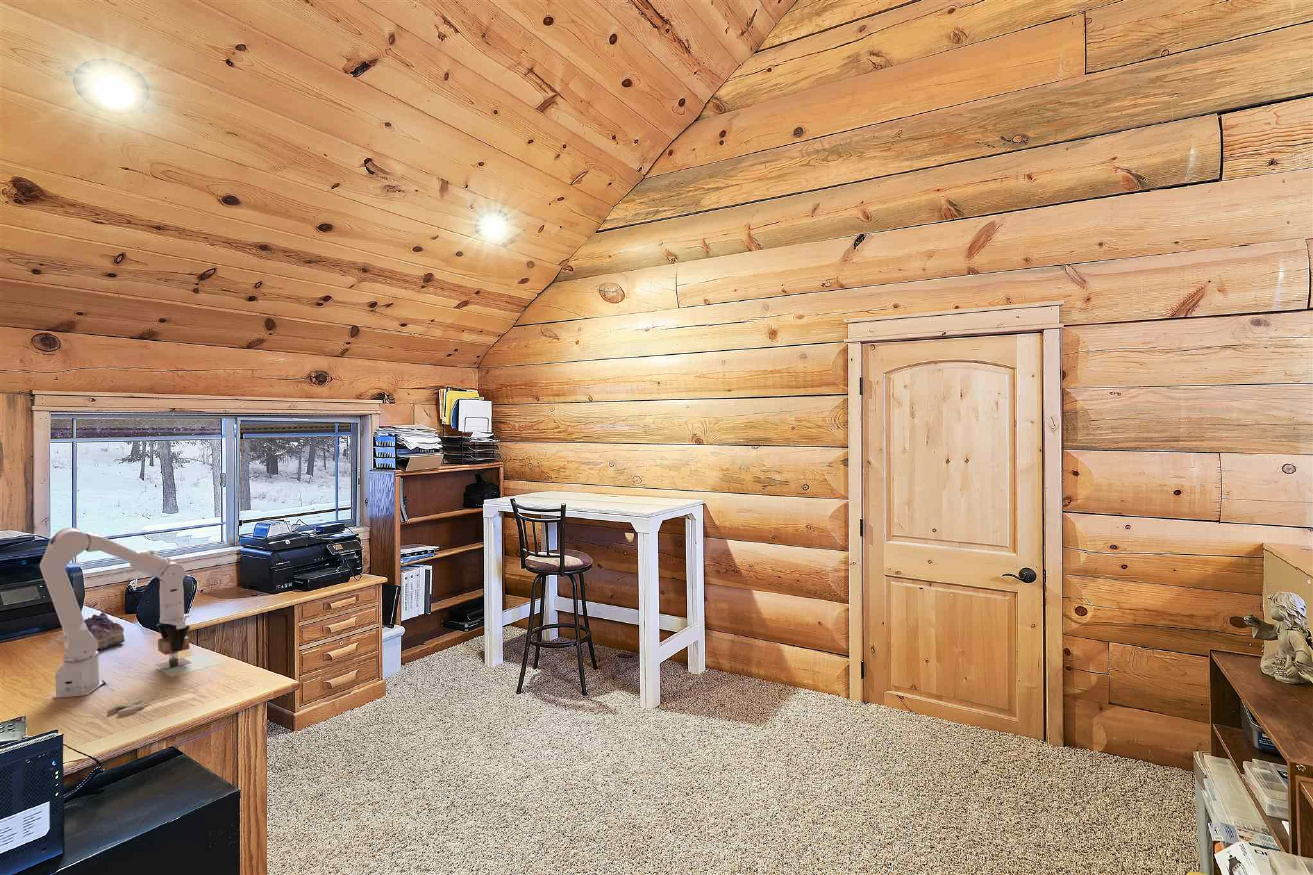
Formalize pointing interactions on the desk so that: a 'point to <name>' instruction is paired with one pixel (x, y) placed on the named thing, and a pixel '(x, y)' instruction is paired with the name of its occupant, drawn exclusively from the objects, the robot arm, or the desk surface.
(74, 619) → the robot arm
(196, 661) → the board
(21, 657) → the desk surface
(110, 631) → the geode
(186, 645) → the collar
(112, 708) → the adjustable wrench
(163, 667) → the post
